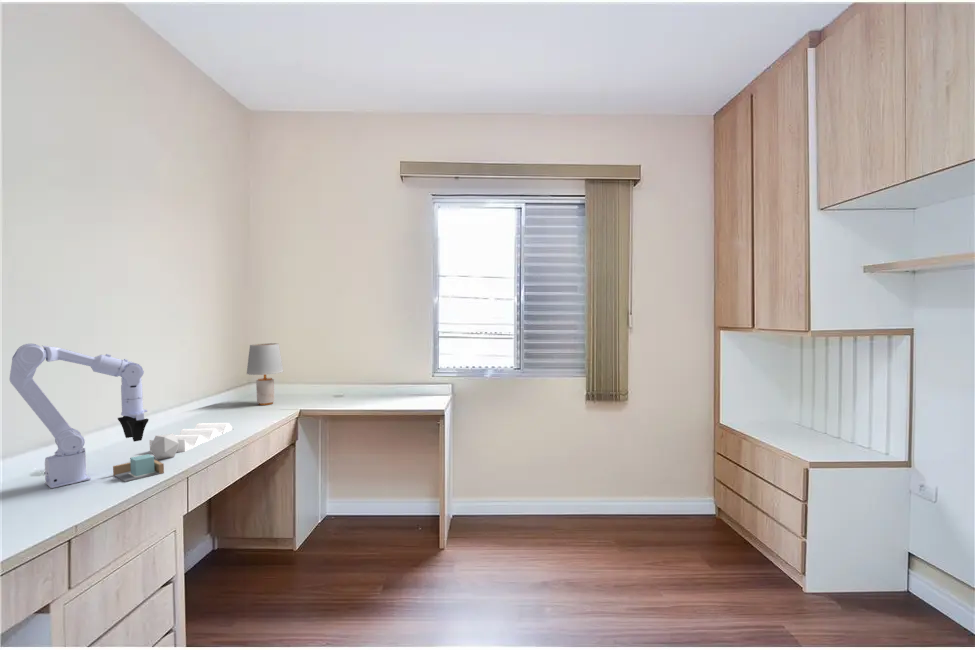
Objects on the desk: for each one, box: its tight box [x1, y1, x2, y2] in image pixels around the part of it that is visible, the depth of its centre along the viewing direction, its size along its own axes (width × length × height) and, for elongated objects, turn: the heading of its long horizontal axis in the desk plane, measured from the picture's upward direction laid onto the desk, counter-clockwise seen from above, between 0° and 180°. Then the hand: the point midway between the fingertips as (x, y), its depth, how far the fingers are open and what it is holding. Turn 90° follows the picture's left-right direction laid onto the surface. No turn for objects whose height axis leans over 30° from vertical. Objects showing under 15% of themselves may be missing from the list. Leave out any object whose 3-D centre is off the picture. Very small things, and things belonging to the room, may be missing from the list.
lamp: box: [246, 342, 284, 406], centre depth 276 cm, size 19×19×34 cm
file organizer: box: [149, 422, 234, 453], centre depth 199 cm, size 13×35×5 cm, turn 0°
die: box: [149, 433, 179, 461], centre depth 175 cm, size 8×9×10 cm
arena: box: [112, 459, 165, 483], centre depth 156 cm, size 10×11×3 cm
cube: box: [129, 453, 155, 476], centre depth 156 cm, size 5×5×5 cm
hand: (133, 439), depth 162 cm, fingers open, 7 cm apart
